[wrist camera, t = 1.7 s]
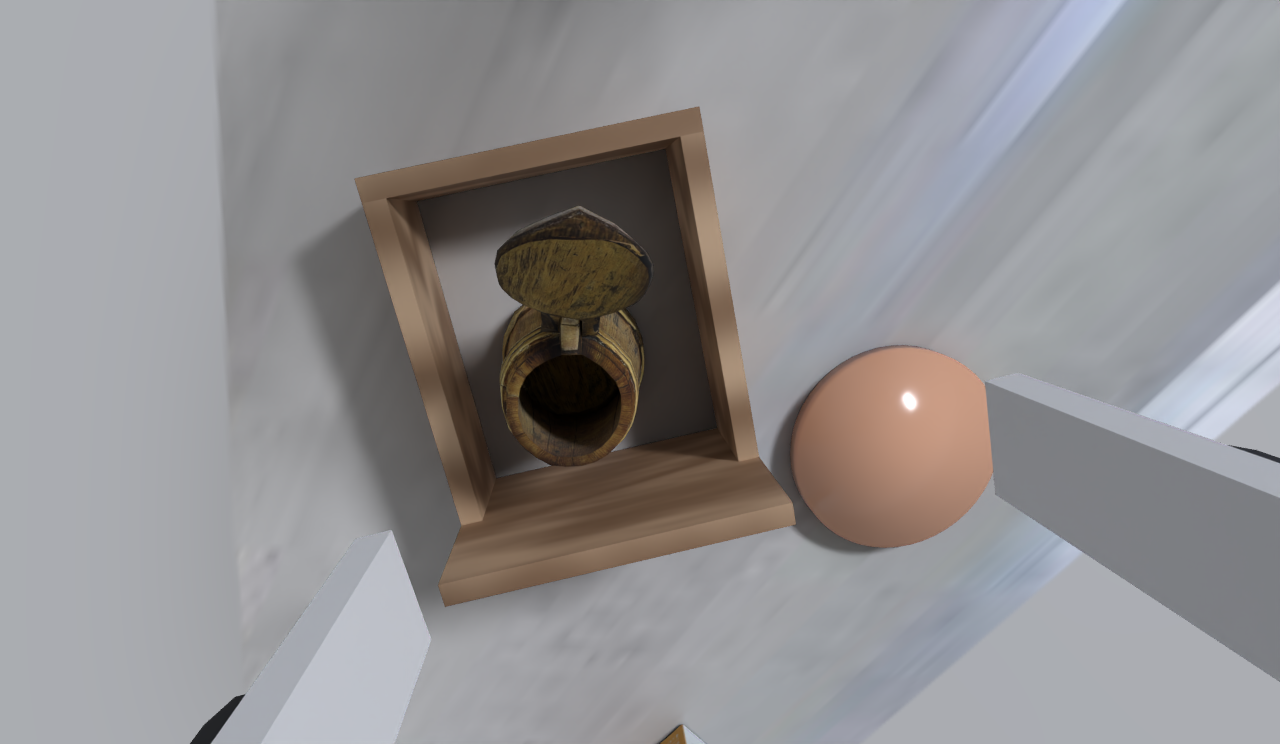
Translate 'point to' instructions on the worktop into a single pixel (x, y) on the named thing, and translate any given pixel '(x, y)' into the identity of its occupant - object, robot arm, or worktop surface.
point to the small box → (682, 737)
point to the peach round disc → (893, 446)
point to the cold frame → (622, 480)
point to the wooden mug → (572, 336)
